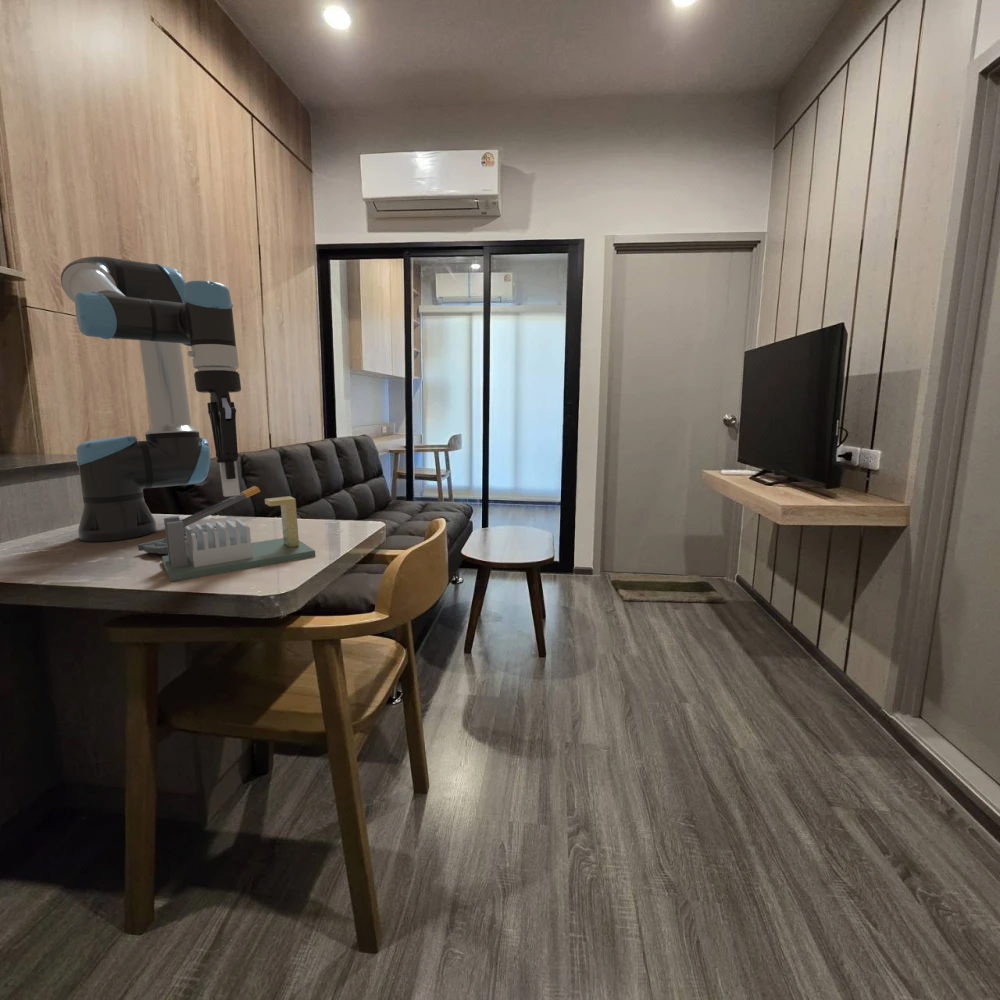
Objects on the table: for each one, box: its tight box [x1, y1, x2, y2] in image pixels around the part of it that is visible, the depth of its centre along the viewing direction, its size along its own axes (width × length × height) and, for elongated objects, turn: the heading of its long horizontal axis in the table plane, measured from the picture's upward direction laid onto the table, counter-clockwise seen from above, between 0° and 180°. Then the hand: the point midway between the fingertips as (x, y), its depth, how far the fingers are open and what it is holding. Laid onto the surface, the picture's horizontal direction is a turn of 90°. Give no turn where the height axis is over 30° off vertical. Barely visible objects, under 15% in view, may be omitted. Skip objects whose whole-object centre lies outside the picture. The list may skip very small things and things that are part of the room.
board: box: [161, 515, 316, 582], centre depth 103 cm, size 15×25×10 cm, turn 127°
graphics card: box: [137, 524, 217, 555], centre depth 113 cm, size 17×4×12 cm
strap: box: [180, 485, 261, 529], centre depth 100 cm, size 3×17×1 cm, turn 127°
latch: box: [264, 495, 300, 547], centre depth 107 cm, size 4×5×10 cm
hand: (231, 495), depth 100 cm, fingers closed
